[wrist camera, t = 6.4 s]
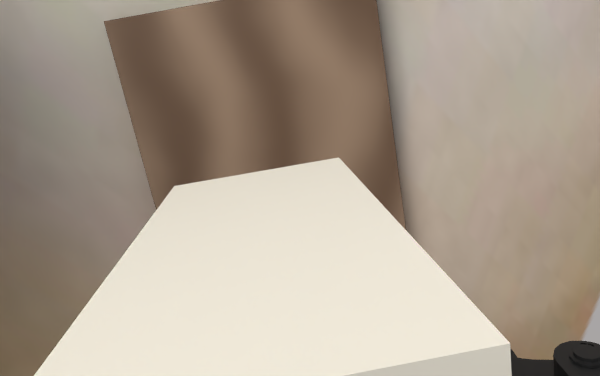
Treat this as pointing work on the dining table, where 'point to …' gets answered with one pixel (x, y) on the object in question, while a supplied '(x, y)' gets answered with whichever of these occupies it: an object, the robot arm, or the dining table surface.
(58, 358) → the carton
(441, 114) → the dining table surface
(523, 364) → the robot arm
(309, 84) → the shelf board
